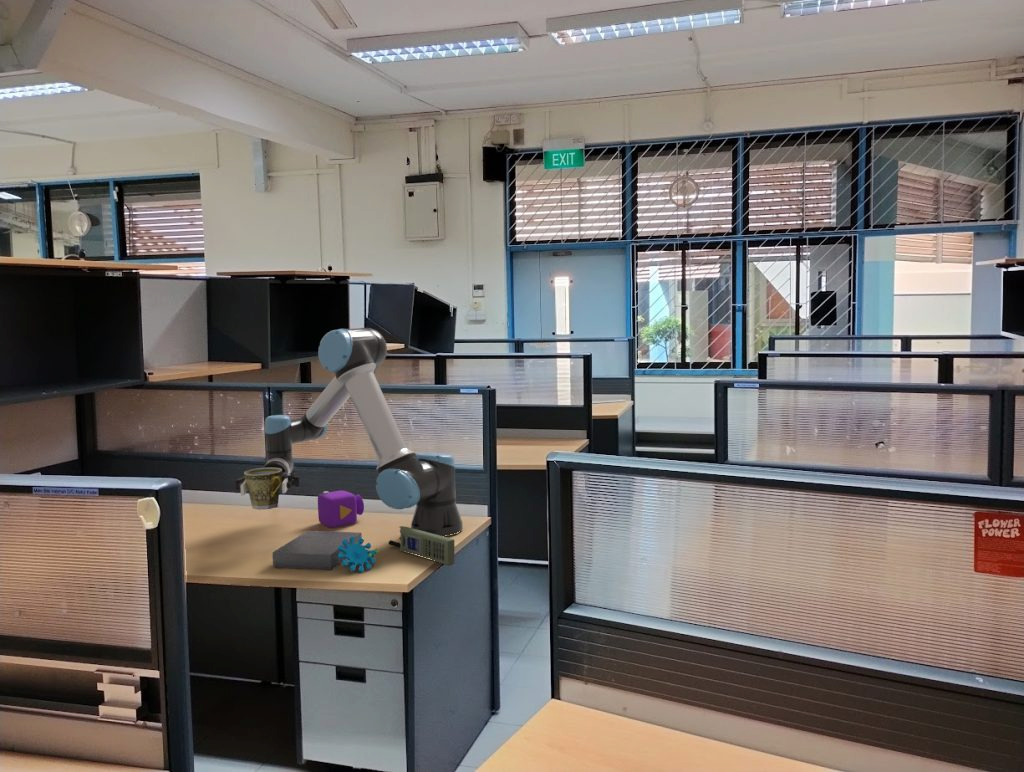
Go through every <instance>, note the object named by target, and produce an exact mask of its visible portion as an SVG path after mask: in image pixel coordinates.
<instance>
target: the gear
mask: <svg viewBox="0 0 1024 772" xmlns="http://www.w3.org/2000/svg"><path fill="white" fill-rule="evenodd" d="M355 539H356V538H355V537H351V538H350V542H351V545H348V544H347V543H348V540H347V539H345V540H343V541H342V544H343V545H345V547H346V549H344V547H343V545H340V546H339V547H338V550H339V551H342V552H344V553H345V555H344V554H343V553H341V552H340V553H339V554H338V558H339V559H341V558H345V559H346V560H343V562H342V563H341V565H342V566H343V567H346V566H347V565H348V567H349V570H350V571H351V572H355V570H356V567H357V566H359V567H358V569H357V571H358V573H364V571H365V570H366V571H368V569H369V570H371V569H372V568H373V566H372V565H373V564H374V563H375V562H376V558H375V556H377V554H378V553H379V549H378V548H375V549H371V548H372V545H371V543H370V542H367V543H365V544H364V542H365V540H364V539H363V538H360V539H359V540H358V543H357V544H354V543H353V542H354V541H355ZM360 544H362V546H361V545H360ZM363 544H364V545H363ZM370 549H371V550H370ZM364 564H365V568H364Z"/></svg>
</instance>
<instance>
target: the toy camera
mask: <svg viewBox="0 0 1024 772" xmlns="http://www.w3.org/2000/svg"><path fill="white" fill-rule="evenodd" d="M364 511H365V504H364V500H363V498H362V496H361V495H360V494H356V495H355V494H353V493H352V492H349V491H347V490H336V491H330V492H329V491H326V490H325V491H323V492H322V493H321V494H318V495H317V514H318V521H319V523H320V524H322V525H324V526H326V527H328V528H332V529H333V528H338V527H344V526H349V525H353V524H355V523H357V521H358V519H357V518H358V516H357V515H359V516H361V515H362V514H363V513H364Z"/></svg>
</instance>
